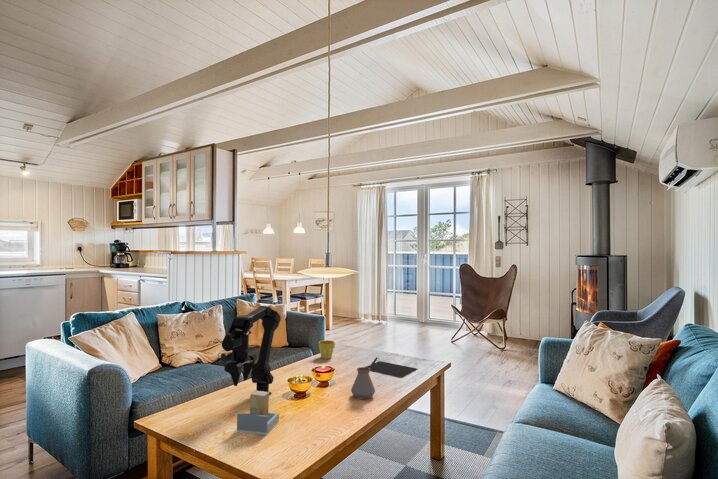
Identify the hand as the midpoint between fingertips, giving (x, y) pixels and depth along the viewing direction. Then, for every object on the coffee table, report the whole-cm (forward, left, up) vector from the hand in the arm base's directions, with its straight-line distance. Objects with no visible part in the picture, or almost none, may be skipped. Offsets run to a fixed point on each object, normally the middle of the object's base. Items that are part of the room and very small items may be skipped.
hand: (240, 382), depth 172 cm
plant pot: (-87, +13, -12) cm, 89 cm away
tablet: (-73, +56, -13) cm, 93 cm away
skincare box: (+12, +14, -11) cm, 22 cm away
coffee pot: (-33, +50, -12) cm, 61 cm away
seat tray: (+12, +14, -12) cm, 23 cm away
